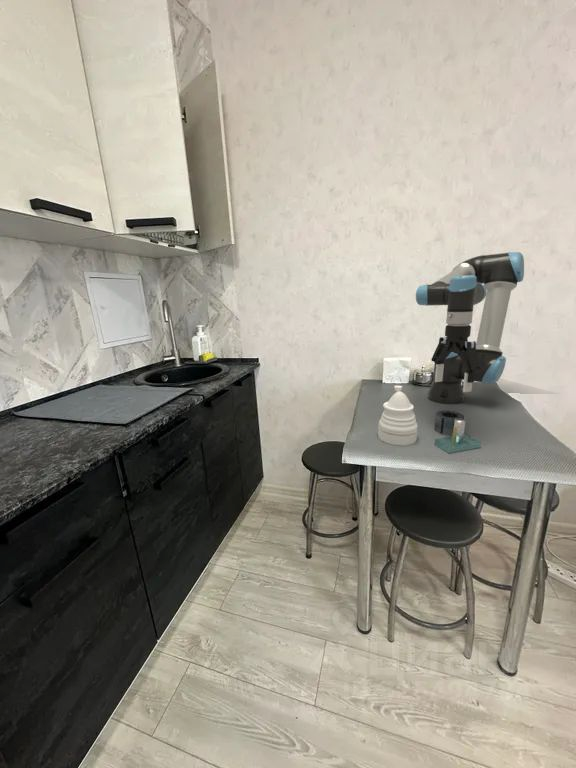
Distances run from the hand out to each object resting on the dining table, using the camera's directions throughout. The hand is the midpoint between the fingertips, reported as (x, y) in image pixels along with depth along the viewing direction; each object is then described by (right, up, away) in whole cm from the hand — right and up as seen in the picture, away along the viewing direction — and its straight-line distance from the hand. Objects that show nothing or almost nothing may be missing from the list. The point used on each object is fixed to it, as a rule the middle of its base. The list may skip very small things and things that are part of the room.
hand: (451, 386), depth 110 cm
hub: (+1, -16, +4) cm, 17 cm away
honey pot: (-19, -18, +1) cm, 26 cm away
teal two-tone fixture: (-2, -19, -7) cm, 21 cm away
